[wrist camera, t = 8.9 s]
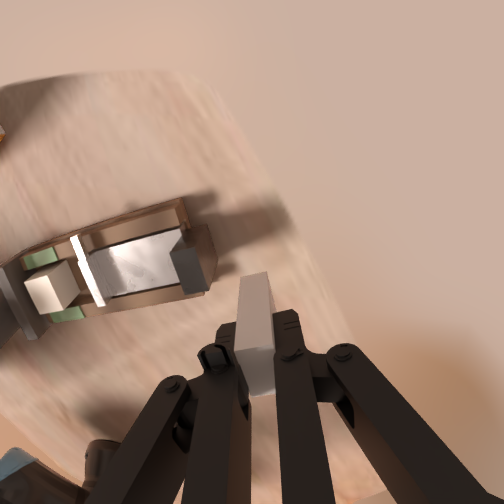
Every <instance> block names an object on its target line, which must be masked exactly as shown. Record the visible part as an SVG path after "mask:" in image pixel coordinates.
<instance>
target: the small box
mask: <svg viewBox="0 0 504 504" xmlns="http://www.w3.org/2000/svg"><path fill="white" fill-rule="evenodd" d="M5 134H6V132H5V131H4V130H3V128H2V126H1V125H0V142H1V141H2V139H3V137H4V136H5Z"/></svg>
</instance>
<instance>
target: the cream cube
mask: <svg viewBox="0 0 504 504" xmlns="http://www.w3.org/2000/svg"><path fill="white" fill-rule="evenodd" d="M24 283H25V286H26V288H27V290H28V292H29V294H30V296H31V298H32V300H33V302H34V304H35V306H36V308H37V310H38V312H39V314H46V313H51V312H57V311H62V310H64V309H65V308H66V307H67V306H68V305H69V304H70V303H71V302H72V301H73V300H74V299H75V297H76V296H77V295H78V294H79V293H80V292H81V291H80V289H79V287H78V285H77V283H76V280H75V278H74V276H73V274H72V271H71V269H70V267H69V264H68V262H67V260H64V261H60V262H57V263H54V264H51V265H47V266H44V267H42V268H41V269H40V270H38V271H37V272H36V273H35V274H33V275H32V276H31V277H30V278H28V279H27V280H26V281H25V282H24Z"/></svg>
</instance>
